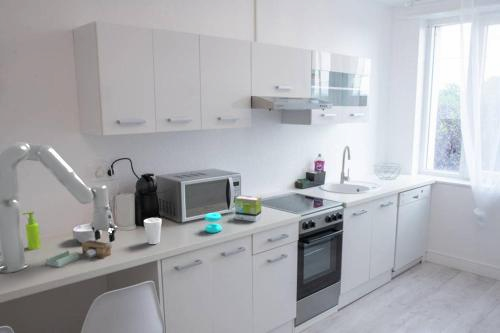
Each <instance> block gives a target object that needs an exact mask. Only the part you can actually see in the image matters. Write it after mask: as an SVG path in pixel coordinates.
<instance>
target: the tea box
mask: <svg viewBox="0 0 500 333" xmlns="http://www.w3.org/2000/svg"><path fill="white" fill-rule="evenodd" d="M234 207H235V208H234V211H235V213H234V214H235V216H234V217H235V220H240V221H248V222H249V221H250V222H255V223H256V222H258V221H259V220H260V219H261V218H262V197H261V196H255V195H246V194H245V195H244V194H240V195H239V196H237V197H235V198H234Z"/></svg>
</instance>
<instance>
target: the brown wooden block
mask: <svg viewBox="0 0 500 333" xmlns="http://www.w3.org/2000/svg"><path fill="white" fill-rule="evenodd" d="M81 248H82V249H81V250H82V255H83V256H86V251H88V250H90V249H93V248H96V251H97V255H96V257H97V258H100V259H105V257H106V258H108V257H110V256H111V255H112V251H111V250H112V249H110V244H109V243H106V242H103V241H102V242H101V241H98V240H96V241H91V240H89V241H86V242H84V243H81ZM107 256H108V257H107Z"/></svg>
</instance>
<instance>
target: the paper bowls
mask: <svg viewBox="0 0 500 333" xmlns="http://www.w3.org/2000/svg"><path fill="white" fill-rule="evenodd" d="M90 224H91V223H85V224H81V225H78V226H75V227H73V228H72V237H73V239H74V240H77V241H78V242H79V243H80V244H82V243H84V242H86V241H89V240H91V241H97V240H95V233H94V232H93V230H92V227H91V225H90ZM99 231H100V236H101V235H102V234H103V231H102V230H99Z"/></svg>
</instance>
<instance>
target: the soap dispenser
mask: <svg viewBox="0 0 500 333" xmlns="http://www.w3.org/2000/svg"><path fill="white" fill-rule="evenodd" d="M34 213H35V211H26V212H23V213H22V215H23V216H24V215H28V216H29V217H28V218H27V222H28V223H27V224H26V225H25V230H26V238H27V239H26V240H27V247H28V250H31V251H32V250H38V249H40V248H41V238H40V237H41V236H40V226H39V223H38V222H36V217H34Z"/></svg>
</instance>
